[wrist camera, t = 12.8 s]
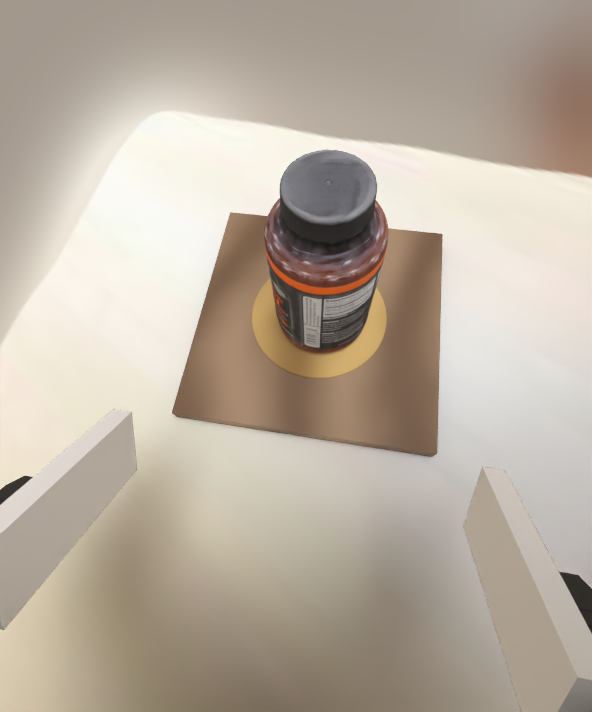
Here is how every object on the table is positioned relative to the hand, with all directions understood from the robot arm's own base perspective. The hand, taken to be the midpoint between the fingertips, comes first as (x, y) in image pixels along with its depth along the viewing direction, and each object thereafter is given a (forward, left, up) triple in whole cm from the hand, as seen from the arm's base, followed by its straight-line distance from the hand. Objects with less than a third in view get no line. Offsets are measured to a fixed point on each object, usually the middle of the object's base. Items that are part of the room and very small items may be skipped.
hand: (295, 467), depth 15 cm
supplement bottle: (0, -11, -8) cm, 14 cm away
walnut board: (+1, -11, -9) cm, 14 cm away
